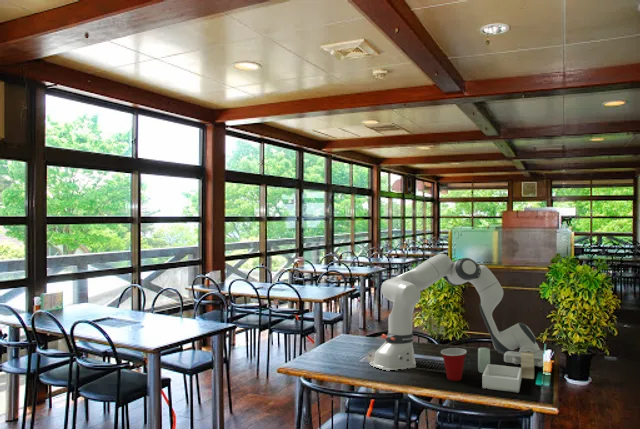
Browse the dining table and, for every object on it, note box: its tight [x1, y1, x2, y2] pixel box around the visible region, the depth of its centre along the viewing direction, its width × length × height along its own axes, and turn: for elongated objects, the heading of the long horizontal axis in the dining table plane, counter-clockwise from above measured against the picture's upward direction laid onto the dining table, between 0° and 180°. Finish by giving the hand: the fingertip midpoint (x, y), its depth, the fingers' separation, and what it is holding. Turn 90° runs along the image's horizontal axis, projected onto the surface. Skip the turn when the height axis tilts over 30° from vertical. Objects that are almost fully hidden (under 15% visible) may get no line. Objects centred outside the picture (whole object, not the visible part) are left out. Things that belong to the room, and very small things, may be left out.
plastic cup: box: [440, 347, 467, 382], centre depth 213 cm, size 11×11×12 cm
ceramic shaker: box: [477, 347, 491, 374], centre depth 223 cm, size 5×5×10 cm
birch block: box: [520, 351, 535, 380], centre depth 215 cm, size 5×5×10 cm
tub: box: [481, 363, 523, 394], centre depth 206 cm, size 18×14×5 cm
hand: (527, 363), depth 216 cm, fingers open, 8 cm apart
